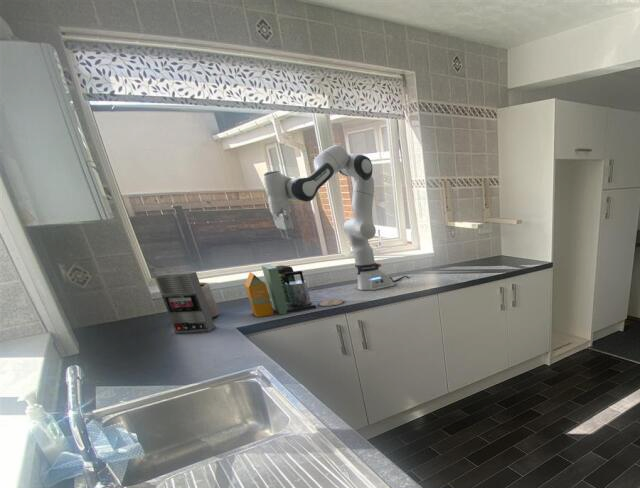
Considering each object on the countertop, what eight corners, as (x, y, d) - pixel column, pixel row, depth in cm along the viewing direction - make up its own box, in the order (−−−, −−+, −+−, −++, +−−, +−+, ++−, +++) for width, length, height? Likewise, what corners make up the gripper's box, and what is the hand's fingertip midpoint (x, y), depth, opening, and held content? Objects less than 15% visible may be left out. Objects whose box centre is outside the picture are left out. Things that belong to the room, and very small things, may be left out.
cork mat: (338, 299, 232) (338, 298, 232) (346, 303, 223) (346, 302, 223) (316, 303, 225) (316, 302, 225) (323, 307, 217) (323, 306, 217)
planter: (168, 325, 195) (155, 292, 188) (187, 315, 211) (175, 283, 204) (210, 322, 198) (199, 289, 191) (225, 312, 214) (215, 281, 207)
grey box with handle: (307, 300, 225) (300, 269, 218) (314, 304, 216) (307, 272, 209) (288, 303, 219) (280, 271, 212) (295, 308, 211) (286, 275, 203)
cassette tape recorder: (175, 334, 183) (152, 276, 172) (182, 330, 188) (160, 273, 178) (209, 331, 185) (188, 274, 174) (215, 327, 190) (196, 271, 179)
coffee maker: (308, 302, 228) (298, 260, 218) (317, 307, 217) (306, 264, 208) (273, 308, 218) (261, 265, 208) (280, 314, 207) (267, 269, 198)
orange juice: (257, 317, 204) (244, 275, 195) (252, 313, 210) (240, 273, 201) (274, 313, 209) (263, 273, 200) (269, 310, 215) (258, 270, 206)
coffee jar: (279, 300, 234) (270, 266, 226) (292, 297, 240) (284, 263, 231) (289, 302, 229) (280, 267, 221) (302, 299, 235) (294, 265, 227)
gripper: (292, 209, 196) (299, 240, 202) (282, 208, 210) (289, 237, 216) (278, 209, 192) (285, 241, 198) (268, 208, 207) (275, 238, 213)
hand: (287, 239), depth 207 cm, fingers open, 8 cm apart
